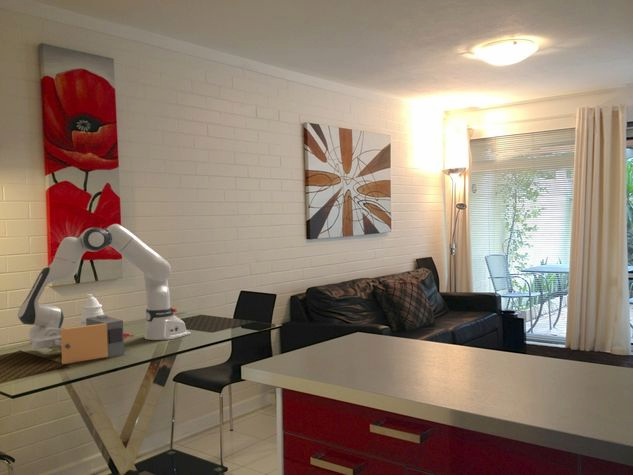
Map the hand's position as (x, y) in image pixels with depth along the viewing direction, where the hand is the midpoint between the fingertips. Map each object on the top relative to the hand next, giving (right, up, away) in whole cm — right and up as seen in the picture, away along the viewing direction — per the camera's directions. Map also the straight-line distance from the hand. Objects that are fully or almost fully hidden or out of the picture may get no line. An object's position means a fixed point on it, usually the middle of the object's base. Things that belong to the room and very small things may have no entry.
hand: (64, 342), depth 253 cm
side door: (+11, -6, -5) cm, 14 cm away
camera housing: (+13, -6, +11) cm, 18 cm away
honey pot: (-14, -4, +69) cm, 70 cm away
